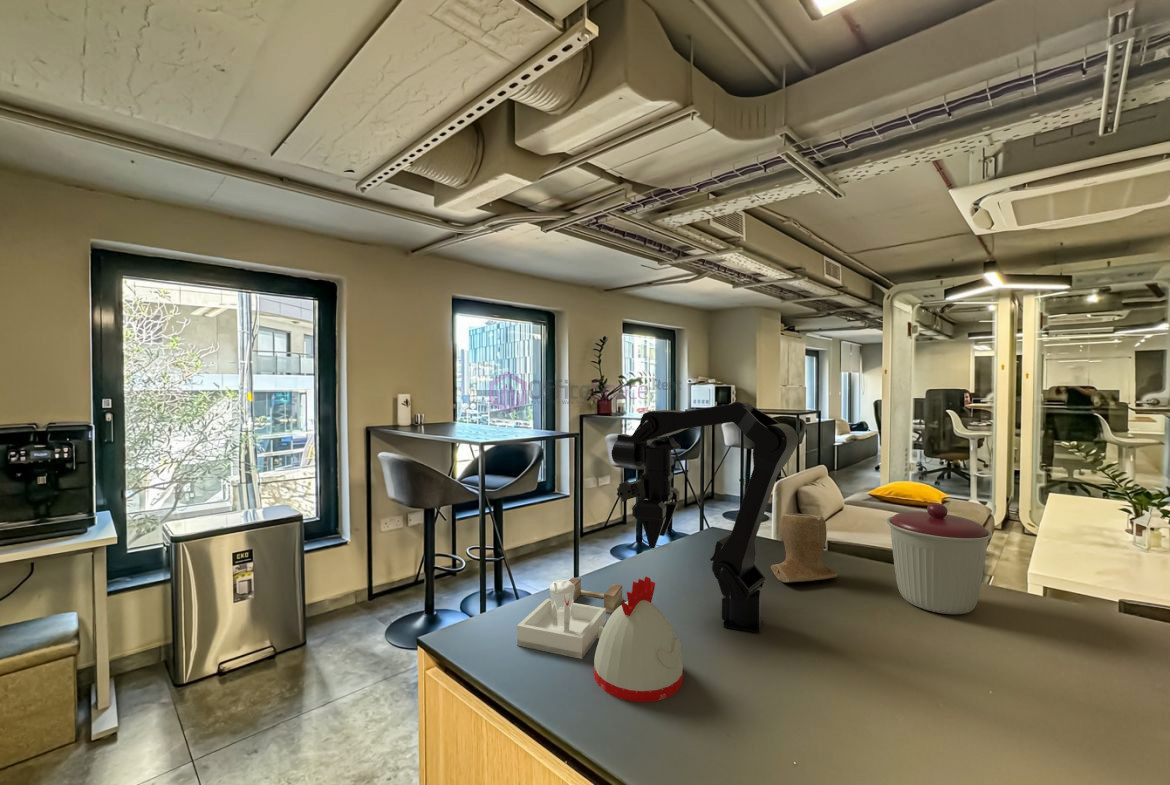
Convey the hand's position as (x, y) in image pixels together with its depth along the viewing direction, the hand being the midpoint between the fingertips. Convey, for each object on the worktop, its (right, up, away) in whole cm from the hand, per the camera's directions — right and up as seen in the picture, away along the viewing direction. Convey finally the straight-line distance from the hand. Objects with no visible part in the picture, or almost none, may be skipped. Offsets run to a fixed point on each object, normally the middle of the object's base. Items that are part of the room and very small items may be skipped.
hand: (657, 541), depth 110 cm
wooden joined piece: (-14, -12, -3) cm, 19 cm away
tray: (-19, -12, -17) cm, 29 cm away
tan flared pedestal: (+36, -12, +12) cm, 40 cm away
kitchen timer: (-7, -13, -29) cm, 33 cm away
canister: (+58, -13, -3) cm, 59 cm away
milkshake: (-20, -11, -18) cm, 29 cm away
